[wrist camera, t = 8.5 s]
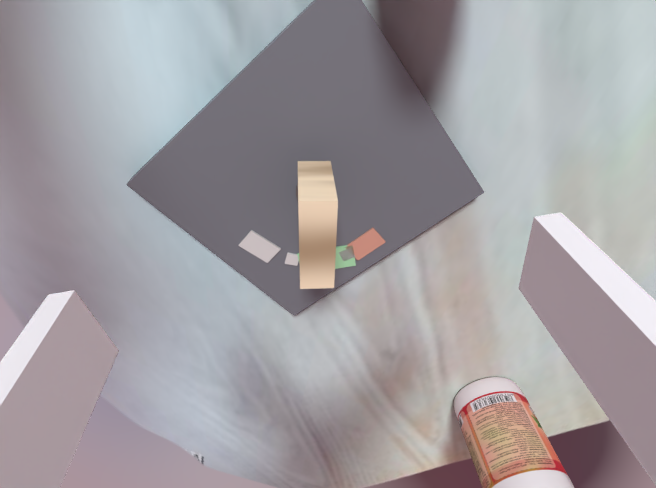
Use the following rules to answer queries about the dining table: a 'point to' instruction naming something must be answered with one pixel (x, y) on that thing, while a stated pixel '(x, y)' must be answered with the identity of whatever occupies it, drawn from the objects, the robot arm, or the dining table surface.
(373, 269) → the dining table surface
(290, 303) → the dial board
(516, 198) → the dining table surface
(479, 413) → the fruit juice
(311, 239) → the beige boxy piece
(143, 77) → the dining table surface
